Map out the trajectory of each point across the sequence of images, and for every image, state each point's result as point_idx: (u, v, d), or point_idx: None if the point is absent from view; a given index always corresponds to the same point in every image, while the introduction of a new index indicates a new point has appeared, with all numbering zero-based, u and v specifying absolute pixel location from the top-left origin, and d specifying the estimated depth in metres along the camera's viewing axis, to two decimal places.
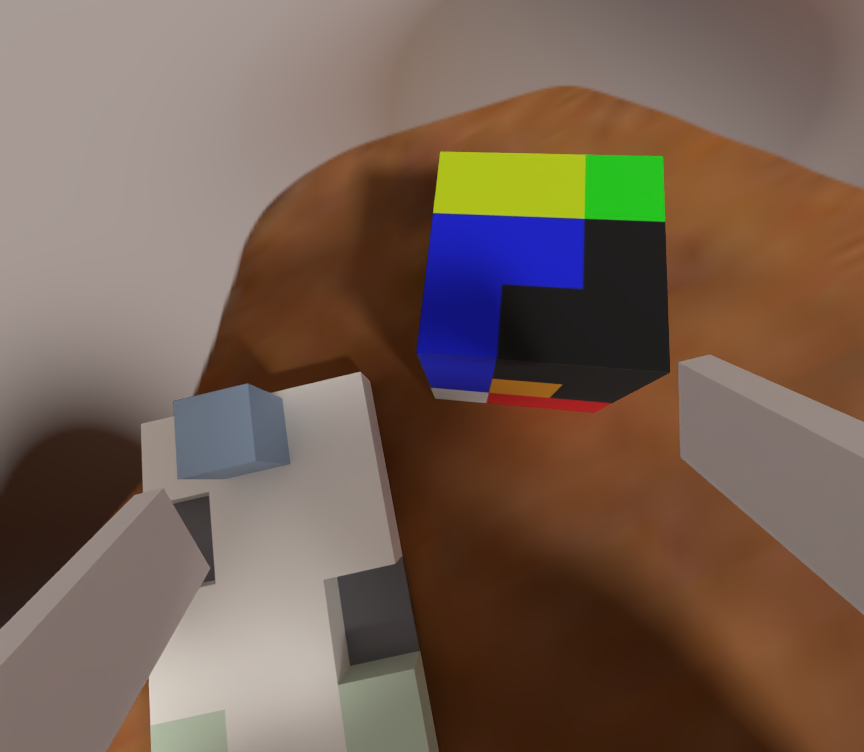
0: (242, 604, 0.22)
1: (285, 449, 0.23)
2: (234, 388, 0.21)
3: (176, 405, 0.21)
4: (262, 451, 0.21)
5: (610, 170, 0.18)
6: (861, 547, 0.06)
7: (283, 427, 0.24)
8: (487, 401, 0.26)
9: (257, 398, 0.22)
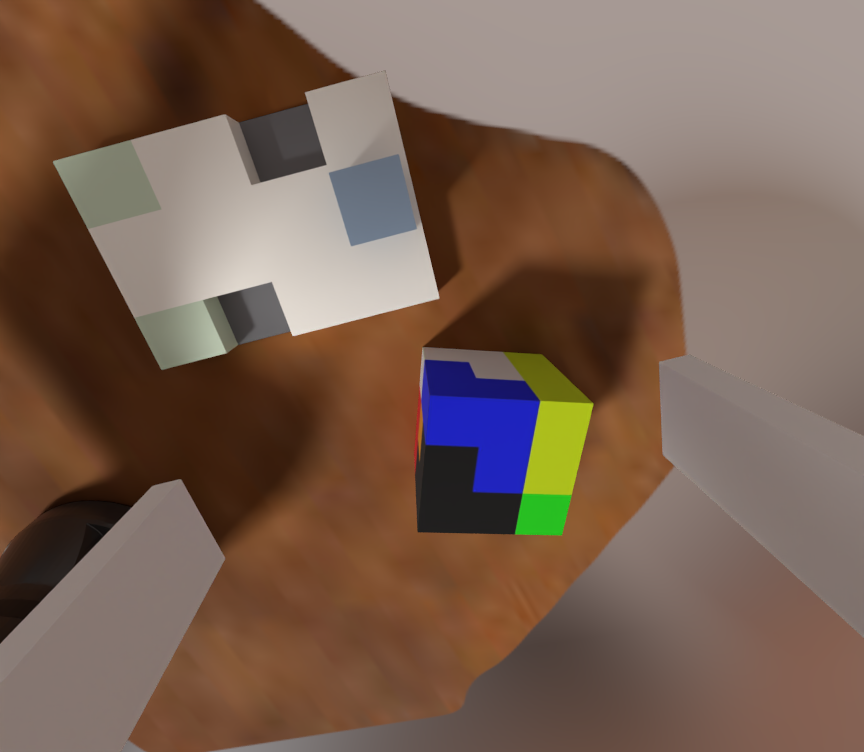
0: (240, 213, 0.26)
1: None
2: (412, 216, 0.23)
3: (394, 158, 0.22)
4: None
5: (556, 508, 0.27)
6: (824, 540, 0.06)
7: None
8: None
9: None
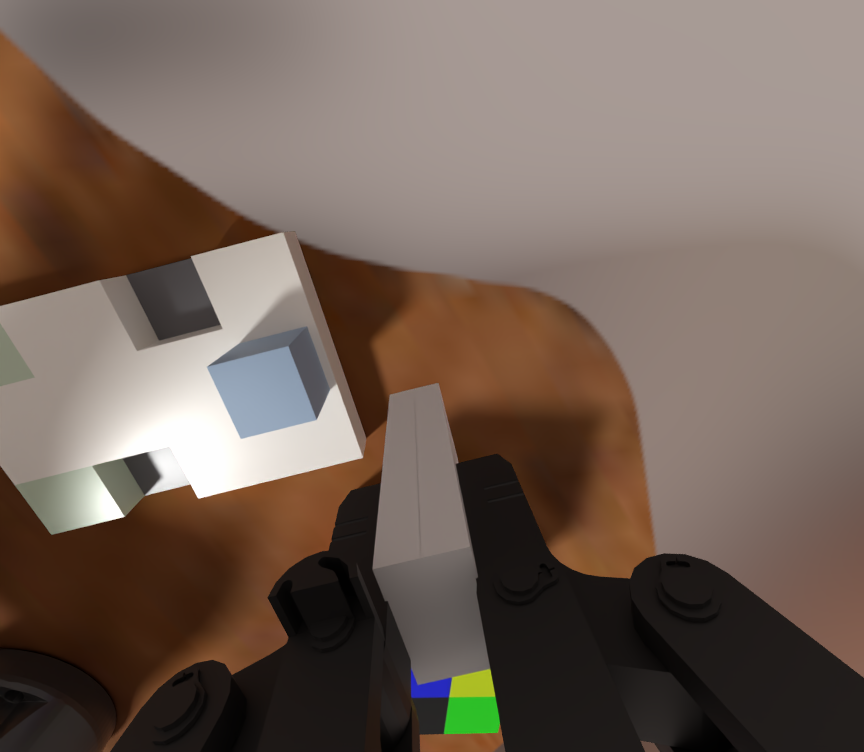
0: (127, 379, 0.23)
1: None
2: (309, 408, 0.20)
3: (284, 350, 0.19)
4: None
5: (489, 708, 0.24)
6: None
7: None
8: None
9: None
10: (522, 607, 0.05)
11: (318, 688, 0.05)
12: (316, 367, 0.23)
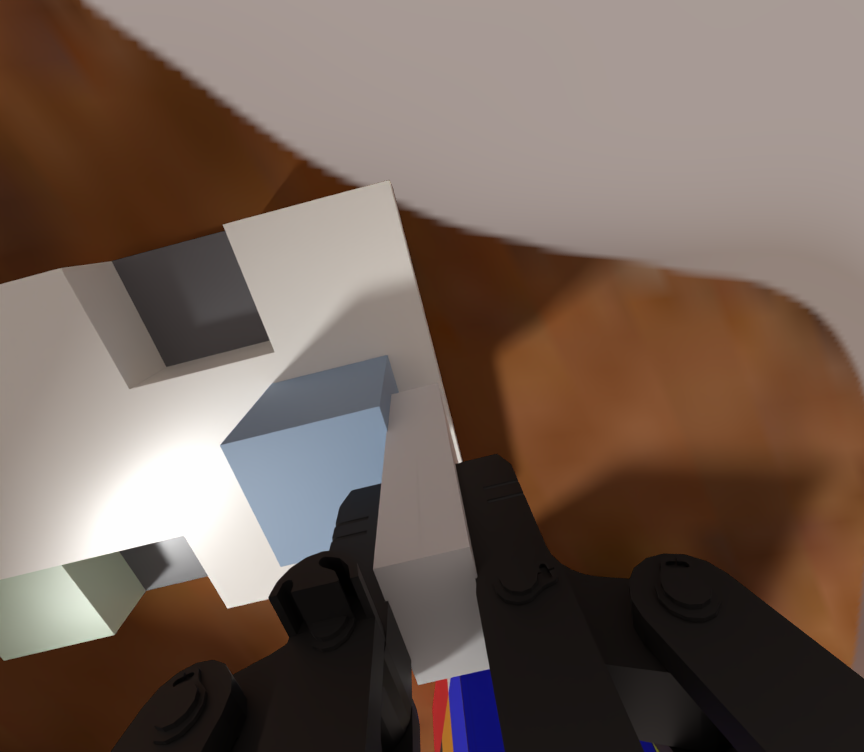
0: (113, 435, 0.14)
1: None
2: None
3: (370, 414, 0.10)
4: None
5: None
6: None
7: None
8: None
9: None
10: (521, 607, 0.05)
11: (318, 688, 0.05)
12: None
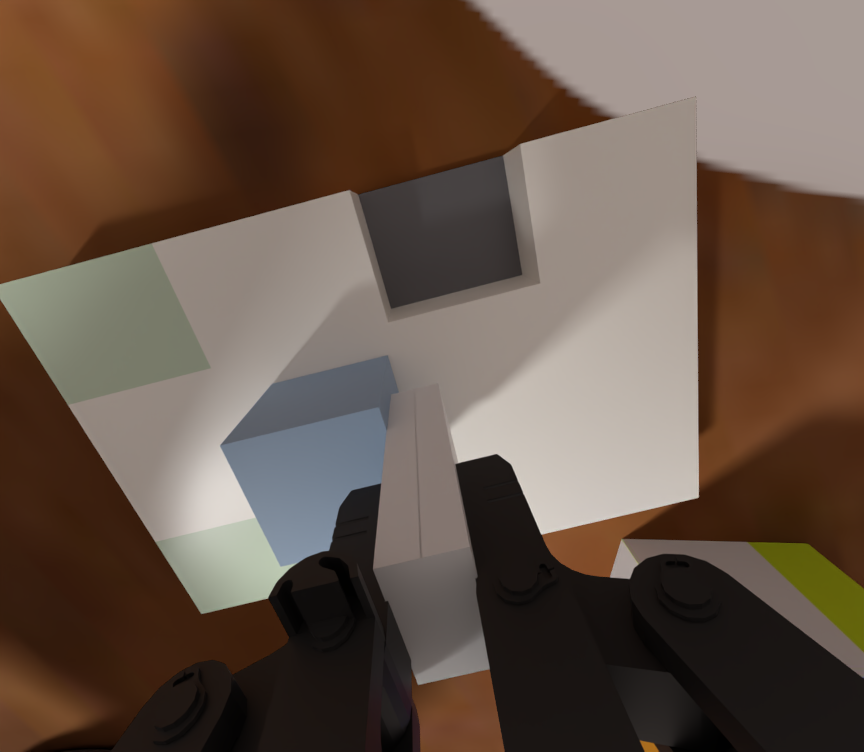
0: None
1: None
2: None
3: (370, 415, 0.10)
4: None
5: None
6: None
7: None
8: None
9: None
10: (522, 607, 0.05)
11: (318, 688, 0.05)
12: None
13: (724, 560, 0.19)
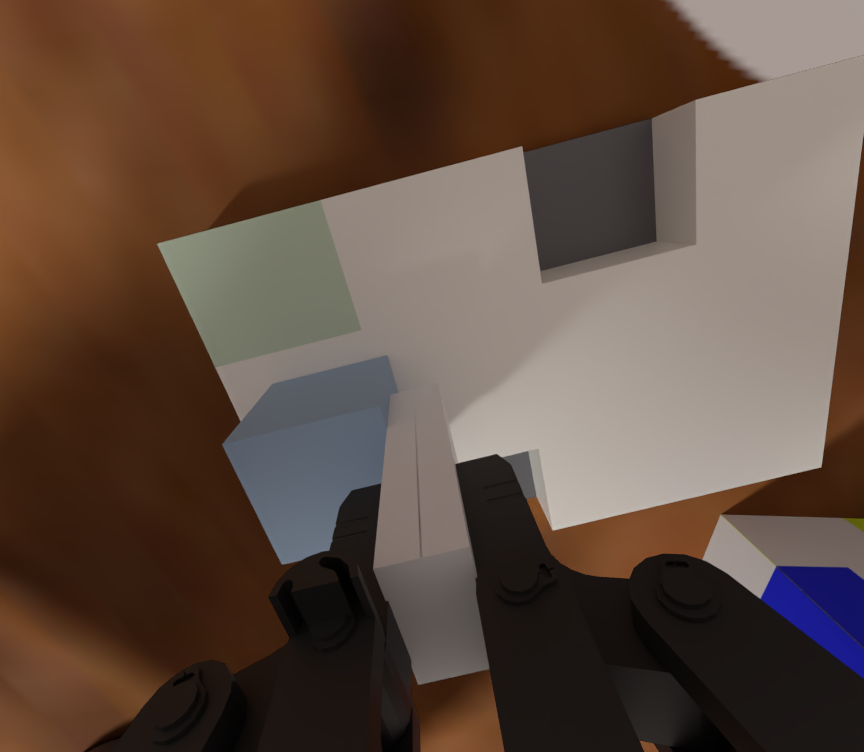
0: (509, 334, 0.14)
1: None
2: None
3: (370, 413, 0.10)
4: None
5: None
6: None
7: None
8: None
9: None
10: (522, 607, 0.05)
11: (318, 688, 0.05)
12: None
13: (827, 534, 0.19)
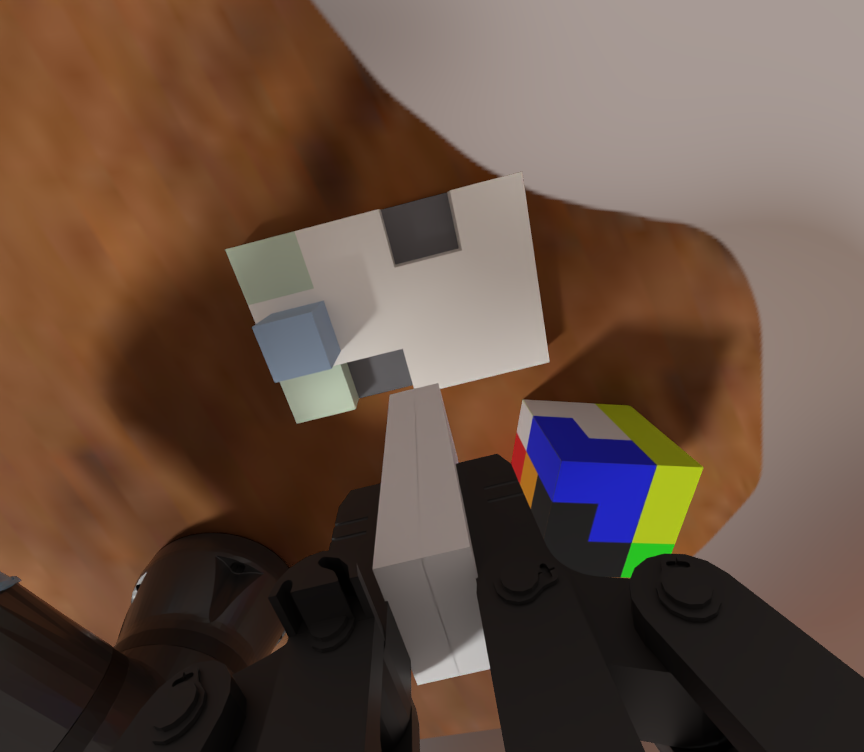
0: (382, 291, 0.30)
1: None
2: (326, 359, 0.27)
3: (308, 315, 0.26)
4: None
5: None
6: None
7: None
8: (518, 435, 0.37)
9: None
10: (522, 607, 0.05)
11: (318, 688, 0.05)
12: (330, 331, 0.30)
13: (576, 408, 0.35)
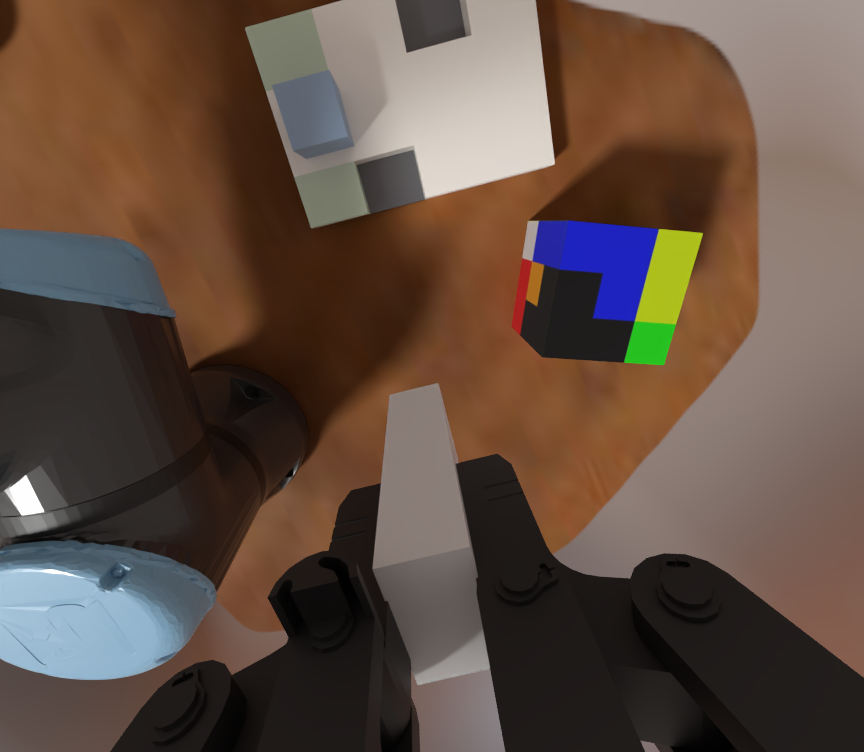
0: (394, 79, 0.31)
1: (314, 155, 0.32)
2: (342, 125, 0.28)
3: (326, 73, 0.27)
4: (302, 150, 0.29)
5: (661, 337, 0.32)
6: None
7: (331, 151, 0.32)
8: (523, 259, 0.38)
9: (340, 141, 0.29)
10: (522, 607, 0.05)
11: (318, 688, 0.05)
12: (345, 117, 0.31)
13: None
